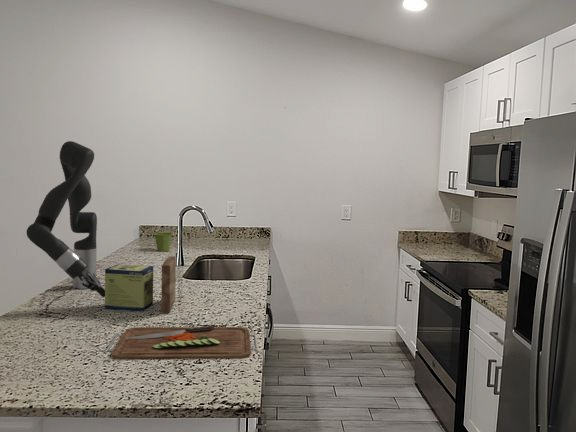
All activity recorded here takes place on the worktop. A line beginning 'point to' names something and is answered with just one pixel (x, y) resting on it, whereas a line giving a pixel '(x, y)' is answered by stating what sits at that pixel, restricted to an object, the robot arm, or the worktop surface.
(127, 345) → the chopping board
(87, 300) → the worktop surface
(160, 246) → the plant pot
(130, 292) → the protein box
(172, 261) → the board
